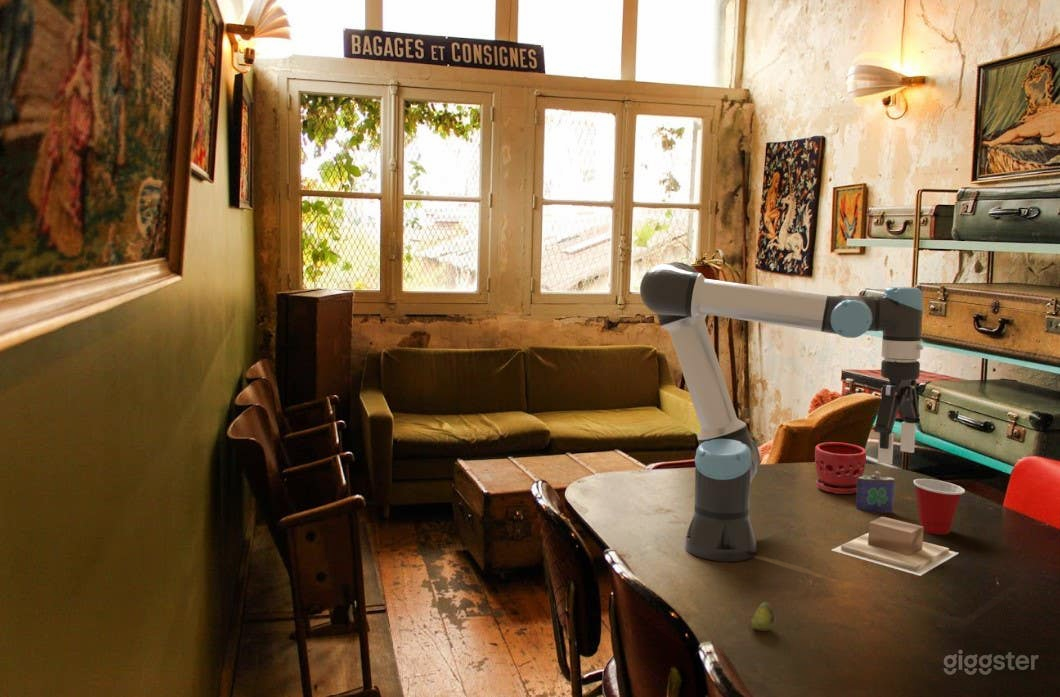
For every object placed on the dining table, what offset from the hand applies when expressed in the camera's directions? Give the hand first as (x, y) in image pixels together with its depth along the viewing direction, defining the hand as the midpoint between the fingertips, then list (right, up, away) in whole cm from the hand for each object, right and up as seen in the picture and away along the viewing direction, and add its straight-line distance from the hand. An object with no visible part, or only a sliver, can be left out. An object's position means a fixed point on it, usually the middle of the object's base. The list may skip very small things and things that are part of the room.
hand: (896, 457), depth 180 cm
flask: (+7, -18, +29) cm, 35 cm away
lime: (-39, -25, -36) cm, 59 cm away
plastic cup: (+15, -20, +13) cm, 28 cm away
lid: (-1, -20, -1) cm, 20 cm away
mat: (-1, -21, -1) cm, 21 cm away
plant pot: (+6, -16, +49) cm, 52 cm away
